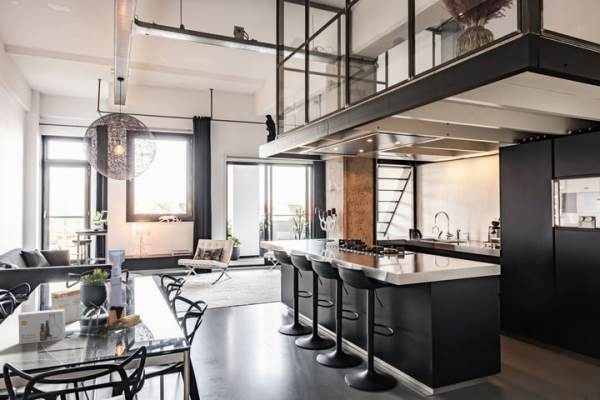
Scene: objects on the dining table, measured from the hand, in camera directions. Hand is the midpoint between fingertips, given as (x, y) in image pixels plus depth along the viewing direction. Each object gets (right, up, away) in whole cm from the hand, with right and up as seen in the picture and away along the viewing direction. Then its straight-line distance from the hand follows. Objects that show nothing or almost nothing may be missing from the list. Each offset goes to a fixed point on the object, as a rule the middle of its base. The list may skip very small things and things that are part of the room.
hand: (117, 318), depth 249 cm
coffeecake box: (-36, -5, +10) cm, 38 cm away
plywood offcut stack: (+10, -2, -3) cm, 10 cm away
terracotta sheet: (0, -2, 0) cm, 2 cm away
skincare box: (-28, -4, -27) cm, 39 cm away
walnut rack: (+5, -3, -2) cm, 6 cm away
